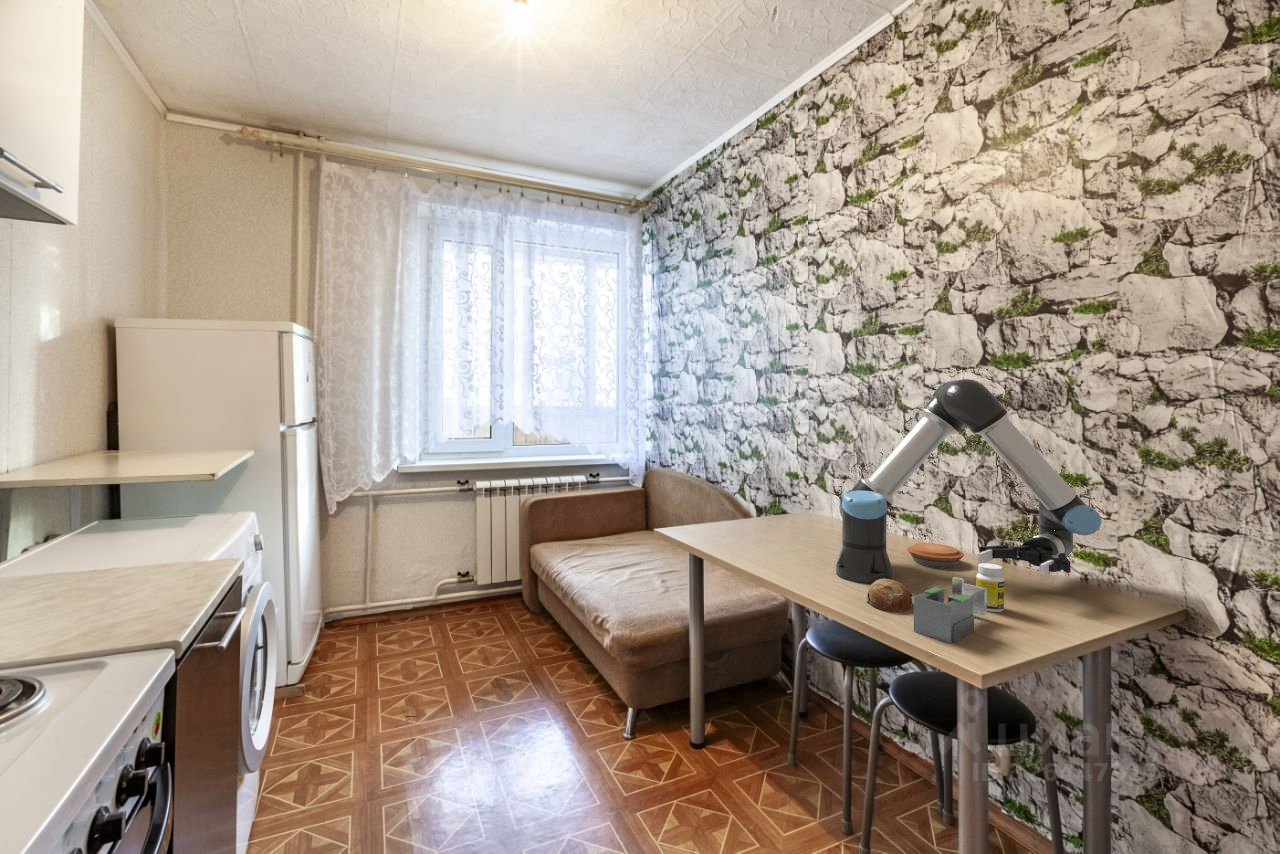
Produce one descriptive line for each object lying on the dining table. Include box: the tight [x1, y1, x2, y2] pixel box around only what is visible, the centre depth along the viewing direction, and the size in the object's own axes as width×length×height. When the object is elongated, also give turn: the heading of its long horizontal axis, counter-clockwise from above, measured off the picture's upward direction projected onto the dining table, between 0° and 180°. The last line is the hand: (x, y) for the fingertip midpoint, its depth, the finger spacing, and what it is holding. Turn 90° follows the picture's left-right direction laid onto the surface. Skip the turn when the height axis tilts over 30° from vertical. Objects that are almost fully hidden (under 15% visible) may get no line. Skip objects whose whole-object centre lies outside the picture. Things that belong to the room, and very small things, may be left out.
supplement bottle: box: [975, 562, 1006, 613], centre depth 131 cm, size 6×6×10 cm
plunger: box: [947, 576, 988, 617], centre depth 123 cm, size 10×5×9 cm, turn 126°
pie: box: [906, 542, 965, 568], centre depth 170 cm, size 15×16×5 cm
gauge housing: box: [913, 586, 975, 644], centre depth 118 cm, size 10×8×8 cm
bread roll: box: [865, 579, 914, 612], centre depth 135 cm, size 10×10×8 cm
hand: (1009, 564), depth 137 cm, fingers open, 13 cm apart
